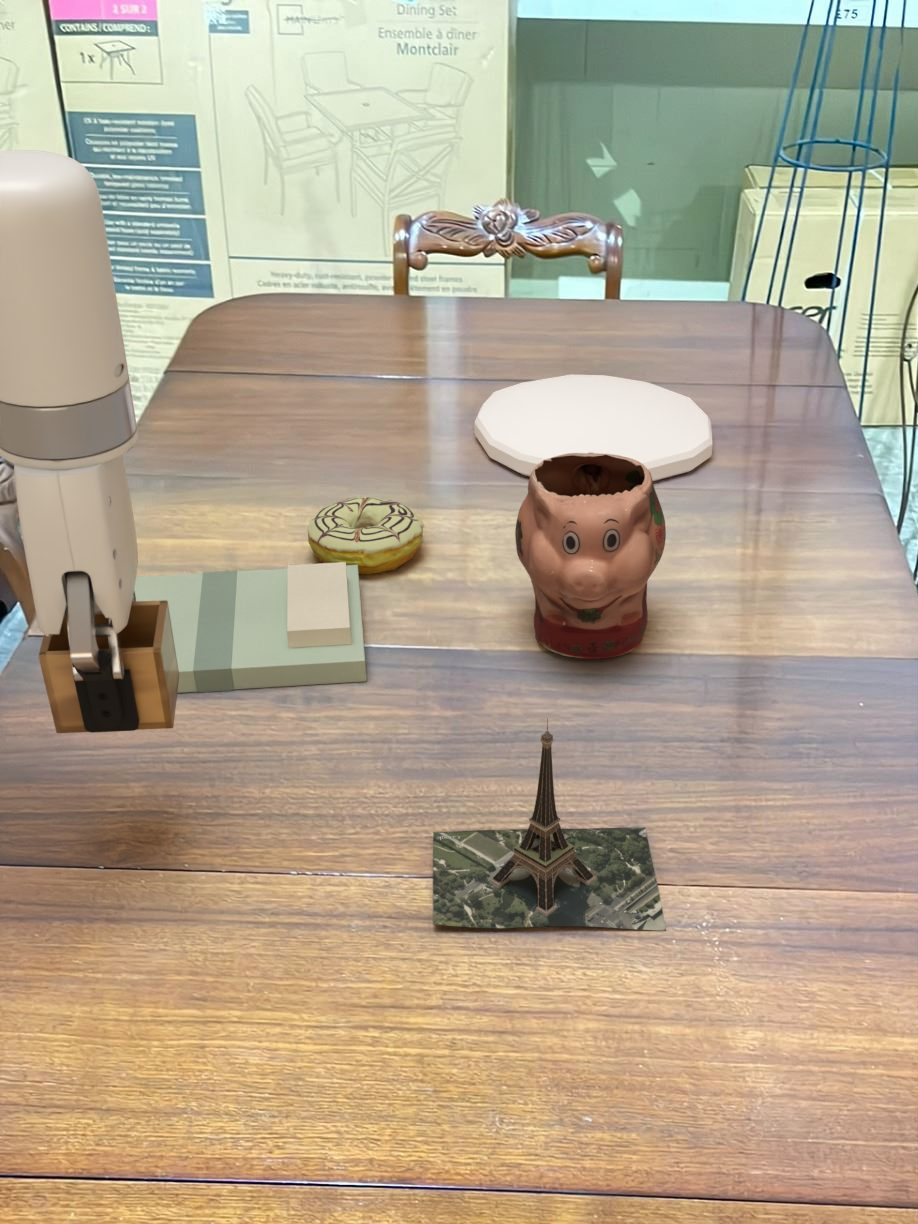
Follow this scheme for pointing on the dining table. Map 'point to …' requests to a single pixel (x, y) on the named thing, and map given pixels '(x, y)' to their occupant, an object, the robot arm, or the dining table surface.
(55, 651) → the open wooden box
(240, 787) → the dining table surface
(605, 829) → the eiffel tower figurine
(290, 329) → the dining table surface
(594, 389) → the decorative plate
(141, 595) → the bed
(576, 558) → the decorative planter
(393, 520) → the decorated donut
